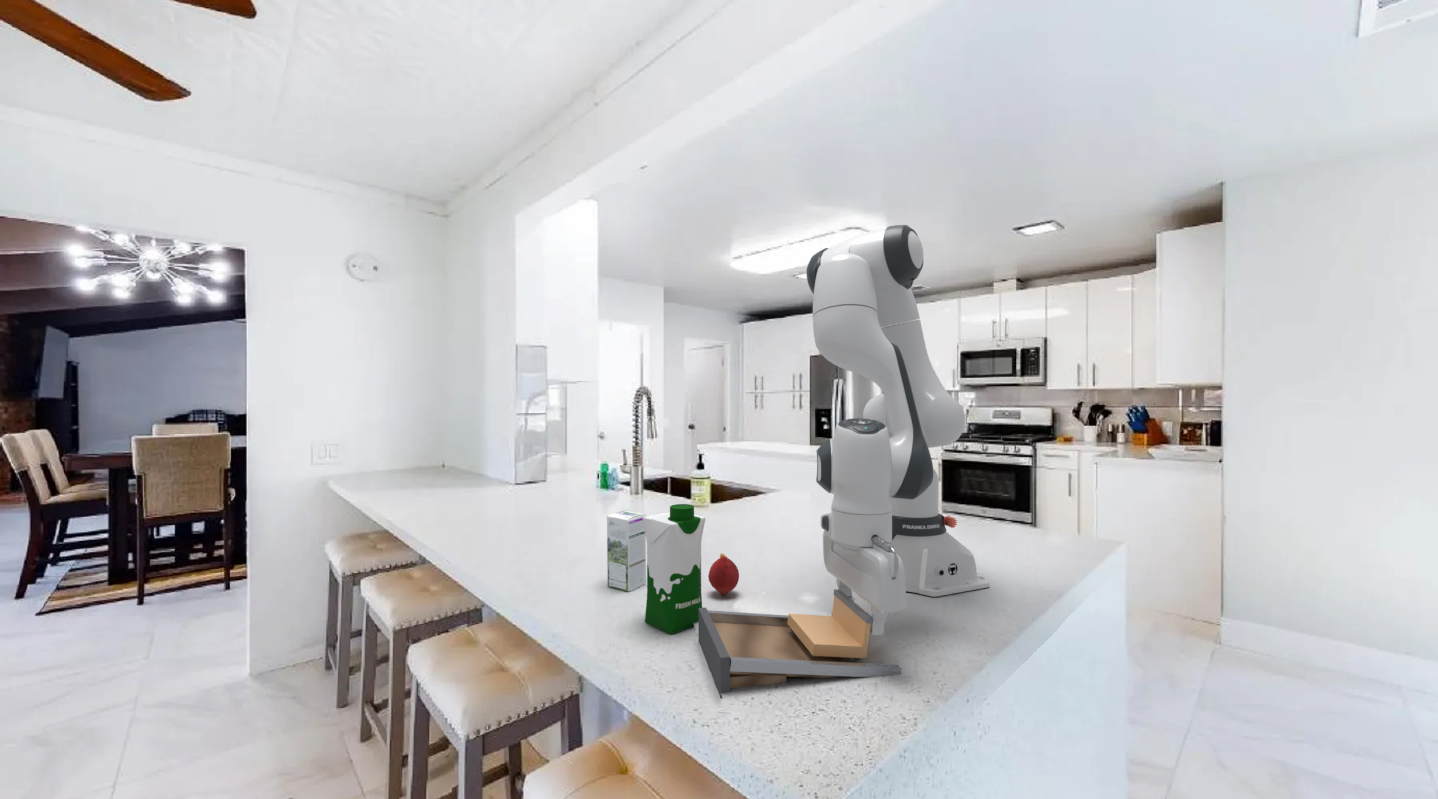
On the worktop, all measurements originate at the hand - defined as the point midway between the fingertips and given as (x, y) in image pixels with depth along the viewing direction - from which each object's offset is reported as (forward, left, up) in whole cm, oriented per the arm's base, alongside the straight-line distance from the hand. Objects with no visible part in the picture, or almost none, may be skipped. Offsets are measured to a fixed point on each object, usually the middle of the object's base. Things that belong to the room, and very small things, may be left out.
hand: (860, 620), depth 86 cm
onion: (+15, -28, -5) cm, 32 cm away
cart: (+6, 0, -4) cm, 7 cm away
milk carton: (+26, -17, -5) cm, 31 cm away
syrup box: (+33, -37, -5) cm, 50 cm away
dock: (+10, 0, -5) cm, 11 cm away
